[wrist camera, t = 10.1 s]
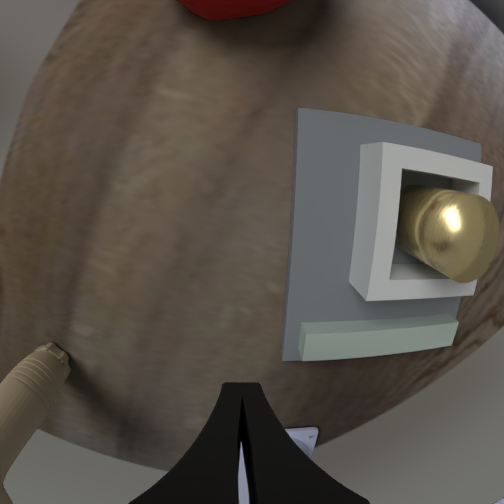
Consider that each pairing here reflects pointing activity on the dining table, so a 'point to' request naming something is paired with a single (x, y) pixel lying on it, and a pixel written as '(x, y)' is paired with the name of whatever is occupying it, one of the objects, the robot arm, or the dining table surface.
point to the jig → (368, 237)
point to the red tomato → (230, 7)
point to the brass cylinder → (448, 230)
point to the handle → (28, 402)
